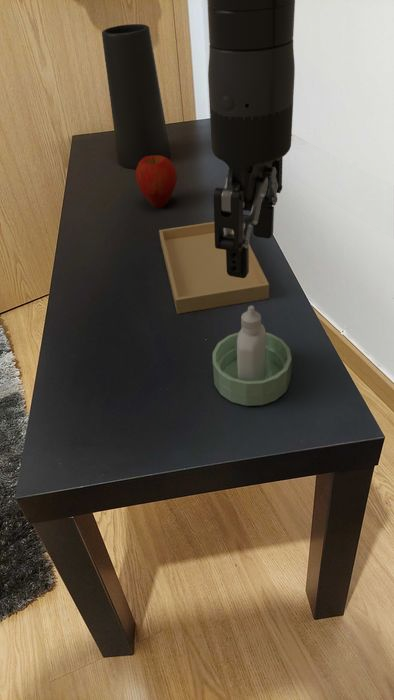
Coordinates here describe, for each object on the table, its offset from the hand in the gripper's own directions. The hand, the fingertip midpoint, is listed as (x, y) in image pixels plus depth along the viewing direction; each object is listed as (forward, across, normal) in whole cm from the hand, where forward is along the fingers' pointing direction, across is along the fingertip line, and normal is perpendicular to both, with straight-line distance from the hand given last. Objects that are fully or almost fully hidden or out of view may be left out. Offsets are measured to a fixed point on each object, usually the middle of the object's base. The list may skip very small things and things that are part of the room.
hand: (251, 254), depth 57 cm
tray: (+20, +24, +16) cm, 35 cm away
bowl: (+20, 0, 0) cm, 20 cm away
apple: (+20, +44, +36) cm, 60 cm away
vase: (+20, +67, +52) cm, 87 cm away
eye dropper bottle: (+20, 0, 0) cm, 20 cm away
